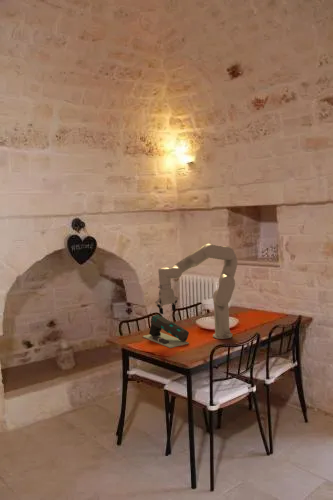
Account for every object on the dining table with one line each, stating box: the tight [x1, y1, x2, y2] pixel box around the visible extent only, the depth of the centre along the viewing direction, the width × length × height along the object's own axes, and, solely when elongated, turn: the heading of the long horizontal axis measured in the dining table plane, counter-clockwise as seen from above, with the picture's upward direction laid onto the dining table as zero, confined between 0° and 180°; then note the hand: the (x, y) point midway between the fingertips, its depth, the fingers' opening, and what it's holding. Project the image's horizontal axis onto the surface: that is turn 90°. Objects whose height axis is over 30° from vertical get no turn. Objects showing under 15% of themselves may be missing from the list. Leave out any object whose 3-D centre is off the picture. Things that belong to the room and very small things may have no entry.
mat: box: [142, 331, 190, 349], centre depth 315 cm, size 34×14×1 cm, turn 33°
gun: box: [148, 313, 190, 342], centre depth 316 cm, size 6×29×15 cm, turn 47°
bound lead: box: [153, 336, 169, 344], centre depth 311 cm, size 15×4×2 cm, turn 33°
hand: (167, 312), depth 315 cm, fingers open, 9 cm apart
